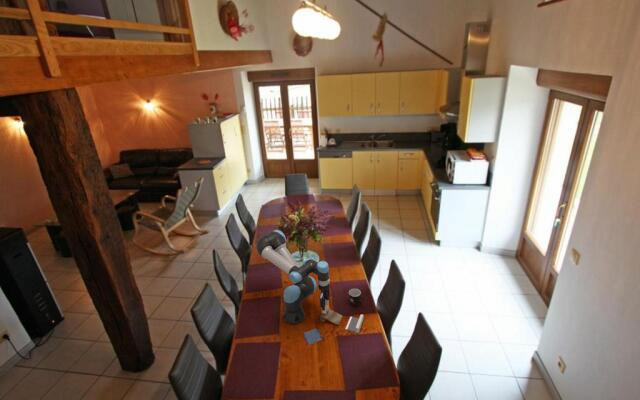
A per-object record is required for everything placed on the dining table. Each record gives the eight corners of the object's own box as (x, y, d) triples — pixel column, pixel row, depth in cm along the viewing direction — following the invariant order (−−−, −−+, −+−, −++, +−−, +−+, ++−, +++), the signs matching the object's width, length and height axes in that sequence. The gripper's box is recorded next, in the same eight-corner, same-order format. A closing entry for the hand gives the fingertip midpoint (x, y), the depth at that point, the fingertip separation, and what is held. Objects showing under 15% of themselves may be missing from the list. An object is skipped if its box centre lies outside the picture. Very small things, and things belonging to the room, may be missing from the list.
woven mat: (302, 334, 222) (302, 332, 221) (317, 329, 226) (317, 327, 225) (307, 346, 213) (307, 344, 213) (323, 341, 217) (322, 338, 216)
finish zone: (345, 329, 223) (345, 325, 222) (350, 316, 234) (350, 312, 233) (358, 333, 220) (358, 328, 218) (363, 319, 231) (363, 314, 229)
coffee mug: (347, 301, 248) (346, 290, 244) (357, 298, 251) (357, 287, 247) (354, 311, 238) (353, 300, 234) (364, 308, 241) (364, 297, 237)
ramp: (320, 321, 232) (320, 315, 229) (325, 312, 239) (324, 306, 237) (338, 325, 227) (338, 319, 225) (342, 316, 234) (342, 310, 232)
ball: (328, 313, 229) (327, 308, 227) (321, 312, 231) (320, 306, 229) (330, 308, 233) (330, 303, 231) (323, 307, 235) (323, 301, 233)
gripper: (324, 292, 213) (326, 320, 223) (333, 276, 228) (335, 303, 238) (313, 290, 216) (315, 318, 226) (323, 274, 231) (325, 300, 241)
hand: (325, 310), depth 232 cm, fingers closed on ball, 5 cm apart
